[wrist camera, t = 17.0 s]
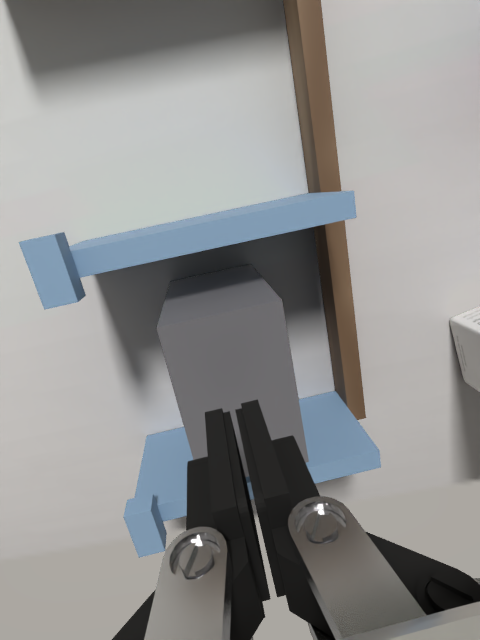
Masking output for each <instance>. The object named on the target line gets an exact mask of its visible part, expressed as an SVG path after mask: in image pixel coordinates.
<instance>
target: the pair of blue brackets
mask: <svg viewBox="0 0 480 640" xmlns="http://www.w3.org/2000/svg"><path fill="white" fill-rule="evenodd" d="M352 218H356V208H355V197H354V191H340V192H321V193H307V194H302V195H298V196H293V197H288V198H284V199H279V200H274V201H270V202H265V203H260V204H255V205H251V206H246V207H241V208H237V209H232V210H227V211H223V212H218V213H213V214H209V215H204V216H199V217H194V218H190V219H185V220H180V221H176V222H171V223H166V224H162V225H157V226H152V227H148V228H143V229H138V230H133V231H129V232H124V233H119V234H115V235H110V236H105V237H101V238H96V239H91V240H86V241H82V242H80V243H77V244H74V245H72V246H69V245H68V242H67V239H66V236H65V233H64V232H63V233H58V234H53V235H49V236H44V237H39V238H34V239H30V240H26V241H22V242H19V244H20V247H21V249H22V252H23V255H24V257H25V260H26V262H27V265H28V268H29V270H30V273H31V276H32V278H33V281H34V283H35V286H36V289H37V291H38V294H39V297H40V299H41V302H42V304H43V307H44V309H49V308H53V307H58V306H62V305H67V304H72V303H76V302H79V301H80V300H81V299H82V298H83V297H84V296H85V292H84V289H83V286H82V283H81V280H80V277H85V276H89V275H94V274H99V273H103V272H108V271H112V270H117V269H122V268H126V267H131V266H135V265H140V264H145V263H149V262H154V261H158V260H163V259H168V258H172V257H177V256H181V255H186V254H191V253H195V252H200V251H204V250H209V249H214V248H218V247H223V246H227V245H232V244H237V243H241V242H246V241H250V240H255V239H260V238H264V237H269V236H273V235H278V234H283V233H287V232H292V231H296V230H301V229H306V228H310V227H315V226H319V225H324V224H329V223H333V222H338V221H342V220H347V219H352ZM299 405H300V411H301V417H302V423H303V429H304V435H305V441H306V447H307V453H308V459H309V462H306V465H307V467H308V470H309V472H310V474H311V477H312V479H313V481H314V483H315V484H316V483H320V482H324V481H328V480H332V479H336V478H340V477H344V476H348V475H352V474H356V473H360V472H364V471H368V470H372V469H376V468H380V467H381V462H380V452H379V449H378V448H377V447H376V445H375V444H374V442H373V441H372V440H371V438H370V437H369V436H368V434H367V433H366V432H365V430H364V429H363V428H362V426H361V425H360V423H359V422H358V421H357V419H356V418H355V417H354V415H353V414H352V413H351V411H350V410H349V408H348V407H347V406H346V404H345V403H344V402H343V400H342V399H341V398H340V396H339V395H338V394H337V392H336V391H333V392H329V393H324V394H320V395H316V396H312V397H308V398H303V399H299ZM191 460H193V456H192V453H191V449H190V446H189V442H188V439H187V435H186V432H185V428H184V427H182V428H178V429H173V430H169V431H165V432H161V433H157V434H153V435H148V436H147V438H146V443H145V448H144V453H143V458H142V463H141V468H140V473H139V478H138V483H137V488H136V493H135V498H133V499H129V500H127V504H126V508H125V513H124V520H125V522H126V525H127V527H128V530H129V533H130V535H131V538H132V541H133V543H134V546H135V548H136V551H137V553H138V556H139V557H143V556H147V555H151V554H155V553H159V552H163V551H165V544H166V530H165V527H164V524H163V521H167V520H171V519H175V518H179V517H183V516H187V463H188V461H191ZM246 481H247V485H248V490H249V495H250V500H252V499H254V496H253V491H252V486H251V482H250V477H249V476H248V477H246Z"/></svg>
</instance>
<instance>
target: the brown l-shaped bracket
mask: <svg viewBox="0 0 480 640" xmlns="http://www.w3.org/2000/svg"><path fill="white" fill-rule="evenodd" d="M283 3H284V11H285V18H286V26H287V33H288V40H289V48H290V55H291V63H292V70H293V78H294V85H295V93H296V100H297V108H298V115H299V122H300V130H301V137H302V145H303V152H304V160H305V167H306V175H307V182H308V190H309V193H321V192H340V191H341V184H340V175H339V166H338V156H337V147H336V138H335V129H334V119H333V110H332V101H331V92H330V82H329V73H328V64H327V55H326V45H325V36H324V27H323V18H322V8H321V0H283ZM314 234H315V242H316V249H317V257H318V264H319V272H320V279H321V286H322V294H323V301H324V309H325V316H326V324H327V331H328V339H329V346H330V354H331V361H332V368H333V376H334V383H335V391H336V392H337V394H338V395H339V396H340V398H341V399H342V400H343V402H344V403H345V404H346V406H347V407H348V408H349V410H350V411H351V413H352V414H353V415H354V417H355V418H356V419H357V420H359V419H363V418H366V415H365V406H364V397H363V387H362V378H361V369H360V360H359V350H358V341H357V332H356V323H355V314H354V304H353V295H352V286H351V277H350V267H349V258H348V249H347V240H346V230H345V221H344V220H342V221H338V222H333V223H329V224H324V225H319V226H315V227H314Z"/></svg>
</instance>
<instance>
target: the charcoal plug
mask: <svg viewBox="0 0 480 640" xmlns="http://www.w3.org/2000/svg"><path fill="white" fill-rule="evenodd" d="M156 329H157V332H158V336H159V339H160V343H161V346H162V350H163V354H164V357H165V361H166V364H167V368H168V371H169V375H170V378H171V382H172V385H173V389H174V393H175V396H176V400H177V403H178V407H179V410H180V414H181V417H182V421H183V425H184V428H185V432H186V435H187V439H188V442H189V446H190V449H191V453H192V456H193V460H195V459H199V458H203V457H207V456H208V453H207V439H206V424H205V412H208V411H212V410H216V409H220V408H222V410H223V413H224V412H228V411H230V414H231V418H232V422H233V427H234V431H235V435H236V439H237V443H238V448H239V452H240V456H241V460H242V464H243V468H244V473H245V477H248V476H249V472H248V468H247V463H246V458H245V454H244V449H243V444H242V440H241V435H240V430H239V425H238V421H237V416H236V411H235V410H236V409H240V408H242V407H241V403H245V402H249V401H253V400H258V402H259V405H260V408H261V411H262V414H263V417H264V420H265V423H266V426H267V428H268V431H269V434H270V437H271V440H275V439H279V438H283V437H287V436H291V435H293V436H294V438H295V440H296V442H297V445H298V447H299V449H300V451H301V454H302V456H303V458H304V461H305V463H306V462H309V459H308V453H307V447H306V441H305V435H304V429H303V423H302V417H301V411H300V405H299V399H298V393H297V387H296V381H295V375H294V369H293V362H292V356H291V350H290V344H289V338H288V332H287V326H286V320H285V314H284V308H283V302H282V299H281V298H280V297H279V296H278V295H277V294H276V293H275V291H274V290H273V289H272V288H271V287H270V286H269V284H268V283H267V282H266V281H265V280H264V279H263V278H262V276H261V275H260V274H259V273H258V272H257V271H256V269H255V268H254V267H253V266H252V265H251V264H249V265H244V266H239V267H235V268H230V269H226V270H221V271H216V272H212V273H207V274H202V275H198V276H193V277H188V278H184V279H179V280H174V281H170V284H169V287H168V291H167V294H166V297H165V301H164V304H163V307H162V311H161V314H160V317H159V321H158V324H157V328H156Z"/></svg>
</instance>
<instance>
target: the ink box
mask: <svg viewBox="0 0 480 640" xmlns="http://www.w3.org/2000/svg"><path fill="white" fill-rule="evenodd" d="M450 326H451V330H452V334H453V338H454V342H455V346H456V350H457V355H458V359H459V363H460V367H461V371H462V375H463V379H464V381H465V382H466V383H467V384H469V385H470V386H471V387H473V388H474V389H476V390H477V391H479V392H480V306H479V307H476V308H474V309H471V310H469V311H466V312H464V313H461V314H459V315H457V316H454V317H452V318H451V320H450Z"/></svg>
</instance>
